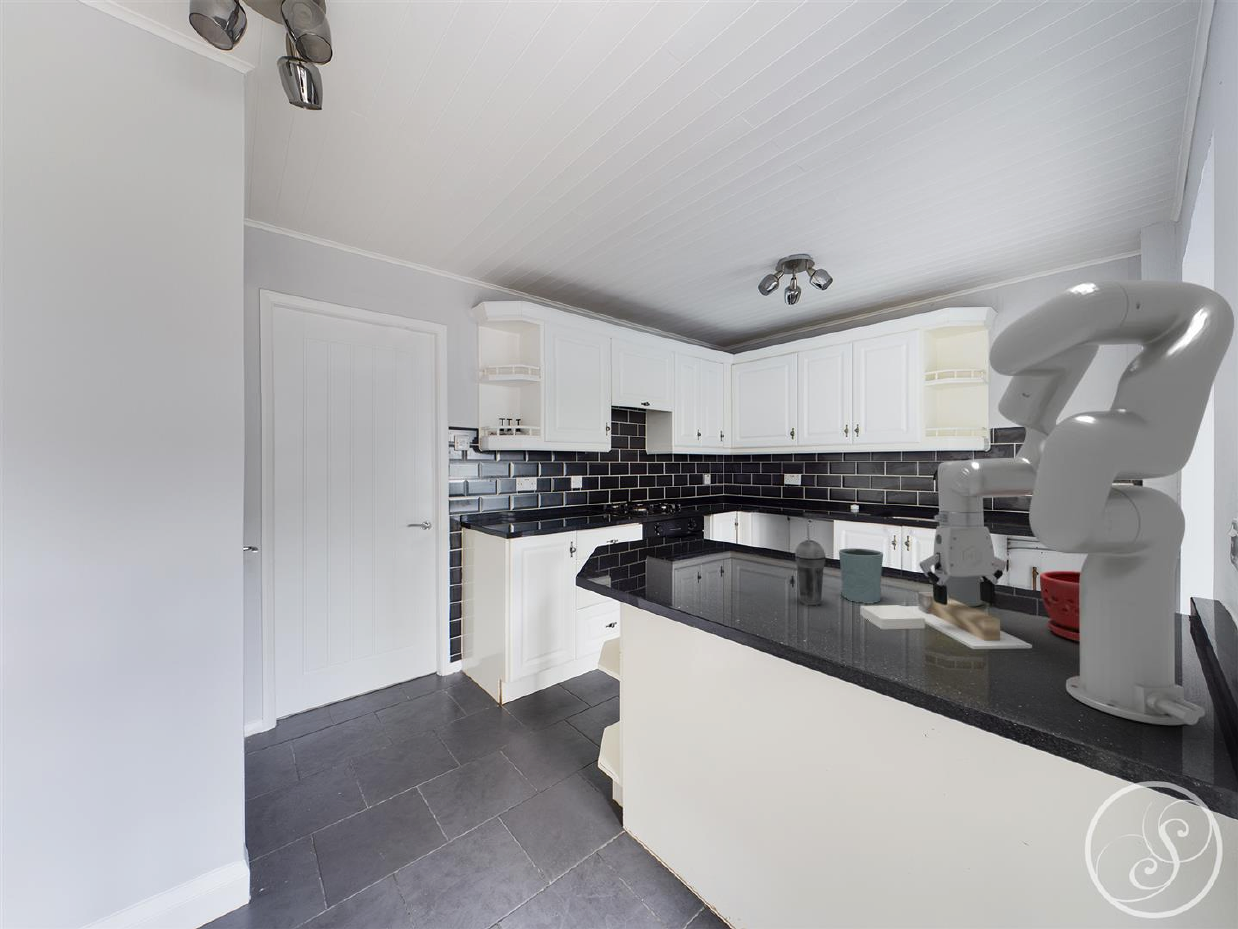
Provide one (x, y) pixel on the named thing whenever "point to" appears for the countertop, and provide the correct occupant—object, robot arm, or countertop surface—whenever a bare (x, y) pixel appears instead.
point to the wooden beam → (961, 616)
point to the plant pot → (1062, 602)
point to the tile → (892, 617)
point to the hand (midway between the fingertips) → (964, 602)
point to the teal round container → (861, 574)
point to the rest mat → (967, 638)
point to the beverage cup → (810, 570)
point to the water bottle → (964, 590)
